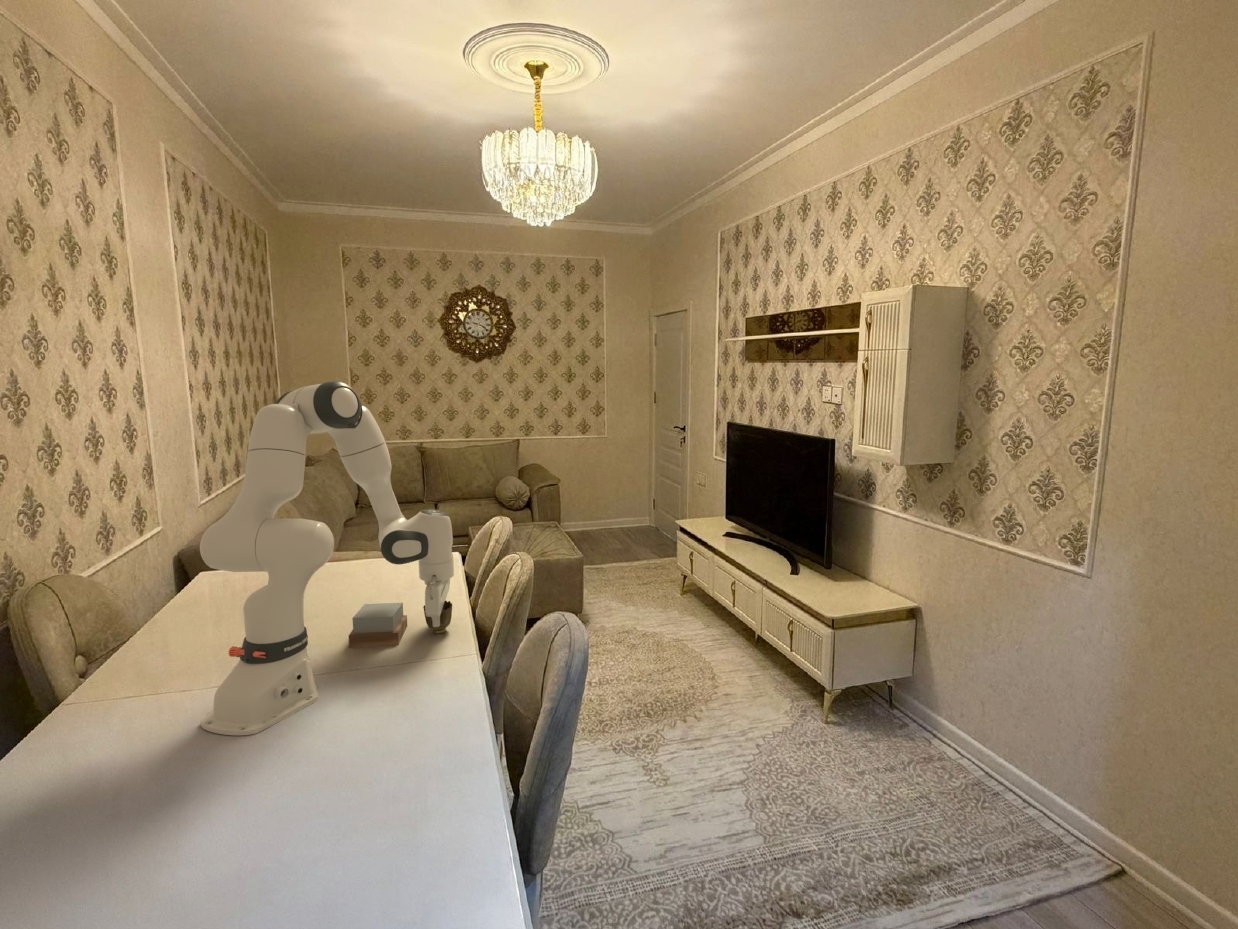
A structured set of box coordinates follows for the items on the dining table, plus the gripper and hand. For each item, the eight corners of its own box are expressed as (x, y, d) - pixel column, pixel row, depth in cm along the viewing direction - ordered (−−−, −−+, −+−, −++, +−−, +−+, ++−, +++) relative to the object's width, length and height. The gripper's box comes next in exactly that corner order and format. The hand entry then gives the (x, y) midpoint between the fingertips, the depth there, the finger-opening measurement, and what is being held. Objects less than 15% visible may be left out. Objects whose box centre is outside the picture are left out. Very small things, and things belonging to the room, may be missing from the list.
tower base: (398, 647, 162) (397, 632, 161) (349, 650, 160) (348, 635, 160) (407, 629, 174) (406, 615, 173) (361, 631, 172) (360, 617, 171)
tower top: (393, 631, 162) (392, 616, 161) (353, 633, 161) (352, 618, 161) (403, 616, 172) (402, 602, 171) (365, 618, 171) (364, 604, 170)
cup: (457, 628, 173) (456, 600, 171) (447, 639, 165) (446, 610, 164) (431, 627, 173) (429, 599, 172) (420, 638, 166) (418, 609, 165)
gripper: (444, 582, 157) (446, 635, 159) (453, 558, 177) (454, 606, 179) (417, 583, 156) (420, 636, 158) (429, 559, 176) (431, 607, 178)
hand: (438, 620), depth 169 cm, fingers closed on cup, 6 cm apart
